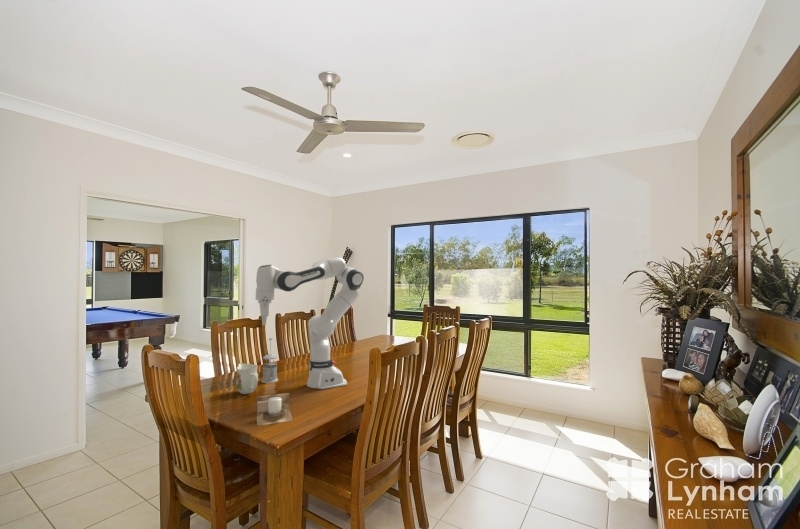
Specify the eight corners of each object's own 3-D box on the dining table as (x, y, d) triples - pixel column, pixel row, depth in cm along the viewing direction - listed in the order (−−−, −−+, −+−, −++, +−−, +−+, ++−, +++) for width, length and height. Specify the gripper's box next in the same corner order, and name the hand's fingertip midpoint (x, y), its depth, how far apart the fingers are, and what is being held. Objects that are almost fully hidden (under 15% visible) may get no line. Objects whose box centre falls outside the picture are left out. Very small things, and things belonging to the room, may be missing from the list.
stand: (288, 410, 164) (289, 392, 165) (292, 424, 150) (292, 404, 150) (256, 414, 159) (256, 396, 159) (256, 429, 144) (257, 409, 144)
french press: (276, 377, 216) (277, 336, 216) (281, 382, 206) (282, 339, 207) (259, 379, 210) (260, 337, 211) (263, 384, 201) (264, 340, 201)
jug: (280, 413, 157) (281, 396, 157) (281, 418, 152) (282, 400, 152) (256, 416, 153) (257, 398, 154) (257, 421, 148) (257, 403, 148)
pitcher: (246, 399, 178) (246, 371, 178) (229, 391, 189) (229, 365, 190) (266, 393, 186) (266, 367, 187) (248, 386, 198) (249, 361, 198)
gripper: (272, 297, 172) (271, 326, 172) (270, 295, 191) (269, 320, 191) (258, 297, 170) (257, 326, 169) (258, 295, 189) (257, 321, 188)
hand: (263, 323), depth 180 cm, fingers open, 8 cm apart
